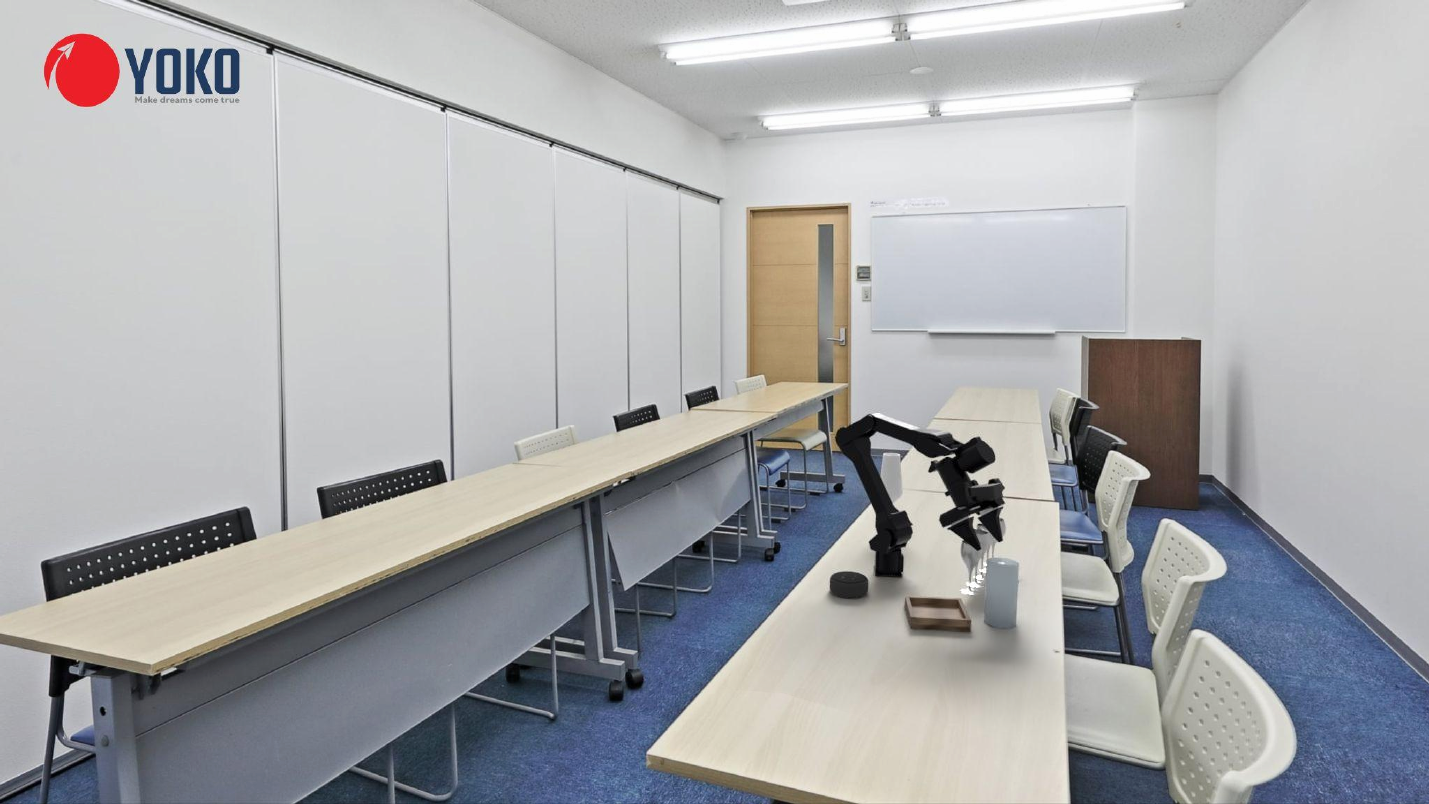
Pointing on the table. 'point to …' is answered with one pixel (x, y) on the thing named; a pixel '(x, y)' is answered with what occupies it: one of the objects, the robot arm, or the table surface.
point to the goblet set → (978, 556)
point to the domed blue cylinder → (1001, 592)
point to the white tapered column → (892, 475)
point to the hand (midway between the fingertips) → (990, 545)
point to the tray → (937, 613)
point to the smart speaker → (849, 584)
